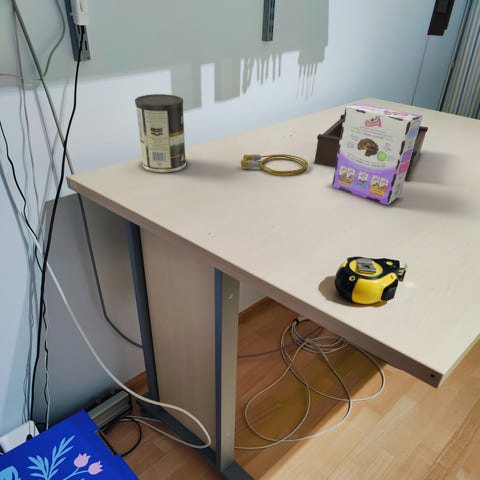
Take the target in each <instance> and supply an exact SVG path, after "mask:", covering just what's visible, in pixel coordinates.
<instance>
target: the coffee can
mask: <svg viewBox="0 0 480 480" xmlns="http://www.w3.org/2000/svg"><path fill="white" fill-rule="evenodd" d="M134 105H135V107H136V115H137V117H136V118H137V125H138V134H139V144H140V151H141V158H142V159H141V160H142V161H141V162H142V168H144V169H145V170H147V171H149V172H153V173H173V172H178V171H181V170H183V169H185V168H186V167H187V162H186V160H187V159H186V141H185V123H184V121H185V120H184V99H183V98H182V97H180V96H177V95H173V94H167V93H166V94H164V93H158V94H157V93H154V94H153V93H152V94H146V95H140V96H137V97H135V99H134Z"/></svg>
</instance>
